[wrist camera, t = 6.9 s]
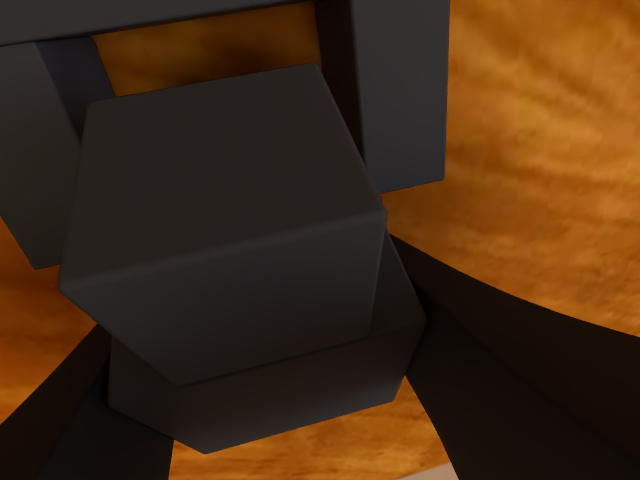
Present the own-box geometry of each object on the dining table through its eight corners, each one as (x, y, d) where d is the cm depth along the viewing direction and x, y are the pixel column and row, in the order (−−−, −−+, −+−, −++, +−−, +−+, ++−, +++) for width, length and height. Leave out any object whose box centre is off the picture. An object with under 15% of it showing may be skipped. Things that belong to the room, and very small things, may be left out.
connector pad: (361, 307, 12) (394, 401, 10) (196, 349, 11) (203, 456, 10) (388, 45, 5) (492, 190, 4) (0, 114, 5) (-81, 321, 3)
